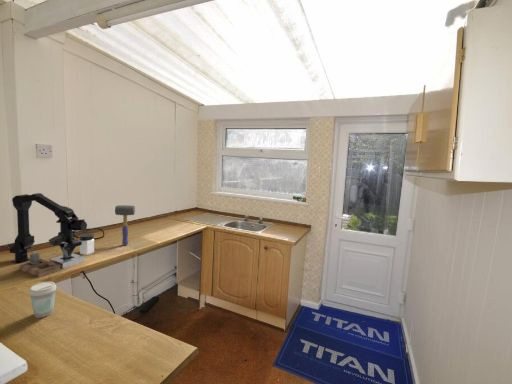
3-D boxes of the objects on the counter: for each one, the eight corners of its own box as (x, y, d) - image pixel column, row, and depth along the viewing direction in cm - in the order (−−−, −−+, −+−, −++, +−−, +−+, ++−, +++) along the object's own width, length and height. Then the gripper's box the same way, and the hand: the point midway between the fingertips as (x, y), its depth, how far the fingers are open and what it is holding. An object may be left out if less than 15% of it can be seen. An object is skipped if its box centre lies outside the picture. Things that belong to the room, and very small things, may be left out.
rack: (19, 269, 139) (18, 253, 138) (40, 263, 148) (40, 248, 147) (39, 277, 132) (38, 260, 131) (60, 270, 141) (59, 254, 140)
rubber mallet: (114, 246, 181) (114, 206, 178) (117, 243, 188) (117, 204, 185) (133, 246, 185) (133, 206, 181) (135, 243, 192) (135, 204, 188)
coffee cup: (26, 321, 97) (24, 292, 96) (35, 309, 105) (33, 282, 104) (53, 317, 101) (52, 289, 100) (60, 306, 109) (59, 279, 107)
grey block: (61, 263, 150) (61, 244, 149) (68, 260, 154) (68, 242, 152) (65, 264, 149) (65, 245, 147) (73, 262, 152) (72, 243, 151)
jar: (97, 250, 173) (97, 233, 171) (90, 254, 165) (90, 237, 163) (83, 250, 172) (83, 233, 170) (76, 254, 164) (75, 236, 162)
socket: (49, 264, 148) (49, 259, 147) (71, 257, 159) (71, 252, 159) (62, 268, 143) (62, 263, 143) (84, 261, 154) (83, 256, 154)
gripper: (40, 230, 145) (41, 256, 147) (61, 236, 138) (62, 263, 140) (62, 226, 155) (62, 250, 157) (82, 231, 148) (82, 256, 150)
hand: (67, 255), depth 151 cm, fingers closed on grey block, 4 cm apart
